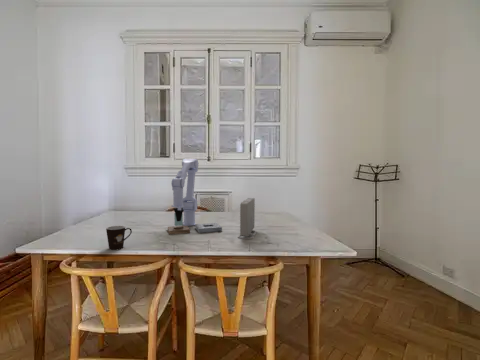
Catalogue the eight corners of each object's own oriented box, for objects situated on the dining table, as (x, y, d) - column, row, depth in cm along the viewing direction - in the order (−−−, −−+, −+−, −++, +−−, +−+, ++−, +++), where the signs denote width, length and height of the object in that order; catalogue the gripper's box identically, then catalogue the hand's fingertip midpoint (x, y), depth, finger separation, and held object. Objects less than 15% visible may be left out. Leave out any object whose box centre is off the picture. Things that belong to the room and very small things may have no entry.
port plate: (195, 228, 191) (195, 224, 191) (216, 226, 195) (216, 222, 195) (198, 232, 177) (198, 228, 177) (221, 231, 182) (221, 227, 181)
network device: (251, 240, 160) (251, 203, 159) (235, 239, 162) (235, 202, 160) (258, 230, 185) (258, 197, 184) (244, 229, 187) (244, 197, 185)
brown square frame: (167, 229, 185) (167, 226, 185) (187, 228, 189) (187, 225, 189) (169, 234, 174) (169, 230, 174) (189, 232, 177) (189, 229, 177)
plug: (174, 224, 182) (174, 213, 182) (182, 224, 183) (181, 212, 183) (174, 225, 179) (174, 214, 179) (182, 225, 180) (182, 213, 180)
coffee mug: (106, 251, 140) (105, 230, 140) (106, 246, 148) (106, 226, 148) (132, 248, 145) (132, 228, 144) (131, 244, 153) (131, 224, 152)
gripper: (170, 196, 186) (170, 218, 187) (172, 199, 172) (172, 223, 173) (182, 196, 188) (182, 218, 189) (184, 199, 174) (185, 222, 175)
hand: (178, 220), depth 181 cm, fingers closed on plug, 3 cm apart
